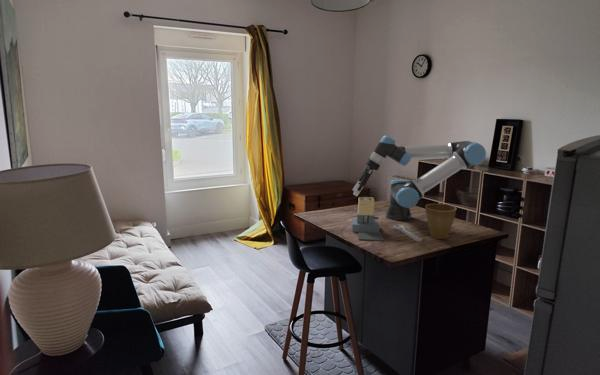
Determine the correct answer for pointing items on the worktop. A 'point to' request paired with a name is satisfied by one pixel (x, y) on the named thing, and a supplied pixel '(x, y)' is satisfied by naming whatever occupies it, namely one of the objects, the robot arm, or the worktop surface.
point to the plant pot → (440, 219)
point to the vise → (365, 223)
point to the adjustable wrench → (407, 232)
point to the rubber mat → (370, 236)
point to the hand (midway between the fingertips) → (354, 193)
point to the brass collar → (366, 206)
